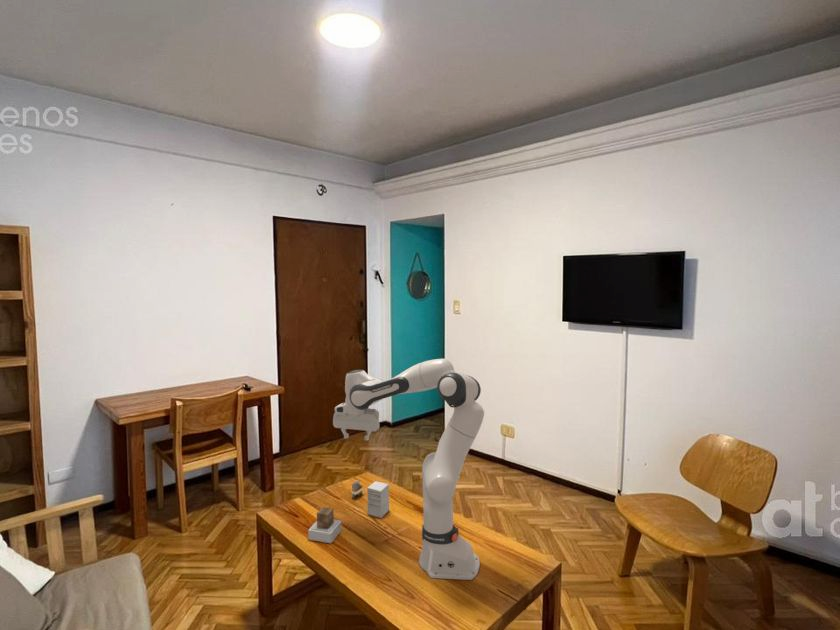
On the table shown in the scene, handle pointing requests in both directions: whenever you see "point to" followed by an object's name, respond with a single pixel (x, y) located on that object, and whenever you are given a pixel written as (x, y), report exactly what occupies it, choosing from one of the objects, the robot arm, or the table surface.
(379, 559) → the table surface
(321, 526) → the walnut block
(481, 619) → the table surface
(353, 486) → the architectural model
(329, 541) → the plinth
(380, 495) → the supplement box
